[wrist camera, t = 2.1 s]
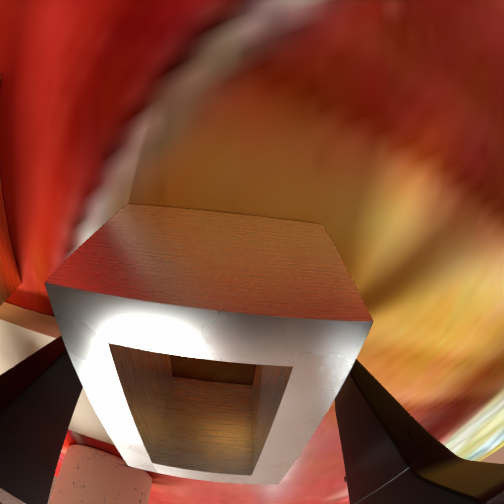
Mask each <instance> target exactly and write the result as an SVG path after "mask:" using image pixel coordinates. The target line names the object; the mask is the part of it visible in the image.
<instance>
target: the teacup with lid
mask: <svg viewBox="0 0 504 504" xmlns="http://www.w3.org/2000/svg"><path fill="white" fill-rule="evenodd" d="M151 485H152V478H151V476H150V475H149V474H148V473H147V472H146V471H144V470H143V469H139V468H135V467H131V466H128V465H127V463H126V462H125V460H124V459H122V458H120V457H117V456H115V455H112V454H110V453H107V452H104V451H102V450H99V449H96V448H92V447H88V446H84V445H71V446H69V447H68V449H67V452H66V455H65V457H64V460H63V463H62V466H61V469H60V472H59V475H58V478H57V481H56V484H55V487H54V490H53V493H52V497H51V500H50V503H49V504H148V502H149V496H150V491H151Z"/></svg>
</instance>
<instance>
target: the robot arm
mask: <svg viewBox="0 0 504 504" xmlns="http://www.w3.org/2000/svg"><path fill="white" fill-rule="evenodd" d="M82 389H83V386H82V384H81V381H80V379H79V377H78V375H77V373H76V370H75V368H74V366H73V363H72V361H71V359H70V356H69V354H68V351H67V349H66V346H65V344H64V341H63V338H62V336H59V337H58V338H56V339H55V340H53V341H52V342H50V343H48V344H47V345H45V346H44V347H42V348H41V349H39V350H38V351H36V352H35V353H33V354H31V355H30V356H28V357H27V358H25V359H24V360H22V361H21V362H19V363H18V364H16V365H15V366H14V367H12V368H10V369H9V370H7V371H6V372H4V373H2V374H1V375H0V504H23V502H24V503H26V504H47V503H48V499H49V494H50V489H51V486H52V482H53V478H54V474H55V469H56V467H57V463H58V460H59V456H60V453H61V449H62V446H63V443H64V440H65V437H66V434H67V431H68V428H69V425H70V422H71V419H72V416H73V413H74V410H75V407H76V405H77V402H78V399H79V397H80V394H81V391H82ZM335 411H336V417H337V423H338V428H339V434H340V440H341V446H342V452H343V459H344V465H345V472H346V476H345V477H344V480H345V482H347V485H348V493H349V500H350V504H504V464H497V463H486V462H478V461H470V460H465V459H462V458H460V457H458V456H457V455H455V454H454V453H453V452H451V451H450V450H449V449H448V448H446V447H445V446H444V445H443V444H442V443H440V442H439V441H438V440H437V439H436V438H434V437H433V436H432V435H431V434H430V433H429V432H428V431H426V430H425V429H424V428H423V427H422V426H421V425H420V424H419V423H418V422H417V421H416V420H415V419H414V418H413V417H412V416H410V414H409V413H408V412H407V411H406V410H405V409H404V408H403V407H402V406H401V405H400V403H399V402H398V401H397V400H396V399H395V398H394V397H393V396H392V395H391V394H390V393H389V392H388V391H387V390H386V389H385V388H384V387H383V386H382V385H381V384H380V383H379V382H378V381H377V380H376V379H375V378H374V377H373V376H372V375H371V374H370V373H369V372H368V371H367V369H366V368H365V367H364V366H363V365H362V364H361V363H360V362H359V361H358V360H357V359H356V360H355V362H354V364H353V366H352V368H351V370H350V372H349V373H348V375H347V377H346V379H345V381H344V383H343V385H342V387H341V388H340V390H339V392H338V394H337V396H336V397H335Z"/></svg>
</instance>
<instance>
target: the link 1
mask: <svg viewBox="0 0 504 504" xmlns="http://www.w3.org/2000/svg"><path fill="white" fill-rule="evenodd" d="M1 75H2V73H0V85H1ZM21 284H22V283H21V280H20V276H19V273H18V269H17V265H16V262H15V258H14V254H13V249H12V245H11V241H10V236H9V231H8V226H7V220H6V214H5V208H4V201H3V194H2V185H1V175H0V306H1V305H2V304H3V303H4V302H5V300H6V299H7V298H8V297H9V296H10V295H11V294H12V293H13V292H14V291H15V290H16V289H17V288H18V287H19V286H20V285H21Z"/></svg>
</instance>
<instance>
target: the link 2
mask: <svg viewBox="0 0 504 504" xmlns="http://www.w3.org/2000/svg"><path fill="white" fill-rule="evenodd" d="M45 286H46V289H47V293H48V296H49V300H50V303H51V306H52V309H53V312H54V315H55V318H56V321H57V324H58V327H59V330H60V333H61V336H62V338H63V341H64V344H65V346H66V349H67V351H68V354H69V356H70V359H71V361H72V363H73V366H74V368H75V370H76V373H77V375H78V377H79V379H80V381H81V384H82V386H83V388H84V390H85V392H86V394H87V396H88V398H89V400H90V402H91V404H92V406H93V408H94V410H95V412H96V413H97V415H98V417H99V419H100V421H101V423H102V424H103V426H104V428H105V430H106V431H107V433H108V435H109V436H110V438H111V440H112V441H113V443H114V445H115V446H116V448H117V449H118V451H119V452H120V454H121V456H122V457H123V459H124V460H125V462H126V463H127V465H128V466H131V467H135V468H139V469H143V470H147V471H152V472H156V473H161V474H166V475H172V476H177V477H183V478H190V479H197V480H205V481H214V482H225V483H240V484H279V483H280V481H281V480H282V479H283V477H284V476H285V475H286V473H287V472H288V471H289V469H290V468H291V466H292V465H293V464H294V462H295V461H296V459H297V458H298V456H299V455H300V454H301V452H302V451H303V449H304V448H305V446H306V445H307V443H308V442H309V440H310V438H311V437H312V435H313V434H314V432H315V431H316V429H317V428H318V426H319V424H320V423H321V421H322V419H323V418H324V416H325V414H326V413H327V411H328V409H329V408H330V406H331V404H332V403H333V401H334V399H335V397H336V396H337V394H338V392H339V390H340V388H341V387H342V385H343V383H344V381H345V379H346V377H347V375H348V373H349V372H350V370H351V368H352V366H353V364H354V362H355V360H356V358H357V356H358V354H359V352H360V350H361V348H362V346H363V343H364V341H365V339H366V337H367V335H368V333H369V331H370V328H371V326H372V324H373V320H372V318H371V316H370V313H369V311H368V309H367V307H366V305H365V303H364V301H363V299H362V297H361V295H360V293H359V291H358V289H357V287H356V285H355V283H354V281H353V279H352V278H351V276H350V274H349V272H348V270H347V268H346V266H345V264H344V262H343V260H342V259H341V257H340V255H339V253H338V251H337V249H336V248H335V246H334V244H333V242H332V240H331V238H330V237H329V235H328V233H327V231H326V229H325V228H324V226H323V224H315V223H308V222H300V221H293V220H285V219H276V218H268V217H260V216H251V215H242V214H233V213H224V212H214V211H204V210H194V209H183V208H172V207H160V206H148V205H136V204H127V205H126V206H125V207H124V208H122V209H121V210H120V211H119V212H118V213H116V214H115V215H114V216H113V217H112V218H111V219H110V220H108V221H107V222H106V223H105V224H104V225H103V226H102V227H101V228H99V229H98V230H97V231H96V232H95V233H94V234H93V235H92V236H91V237H90V238H89V239H87V240H86V241H85V242H84V243H83V244H82V245H81V246H80V247H79V248H78V249H77V250H76V251H75V252H74V253H73V254H72V255H71V256H70V257H69V258H68V259H67V260H66V261H65V262H64V263H63V264H62V265H61V266H60V267H59V268H58V269H57V270H56V271H55V272H54V273H53V274H52V275H51V276H50V277H49V278H48V279H47V280H46V281H45ZM170 354H172V355H178V356H185V357H192V358H200V359H208V360H216V361H225V362H235V363H246V364H257V365H256V370H255V374H254V379H253V384H252V385H242V384H231V383H221V382H212V381H204V380H196V379H189V378H182V377H176V376H172V368H171V359H170Z"/></svg>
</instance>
